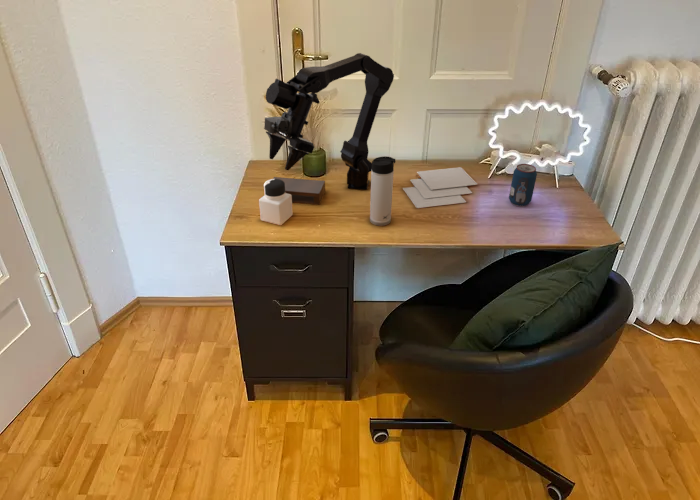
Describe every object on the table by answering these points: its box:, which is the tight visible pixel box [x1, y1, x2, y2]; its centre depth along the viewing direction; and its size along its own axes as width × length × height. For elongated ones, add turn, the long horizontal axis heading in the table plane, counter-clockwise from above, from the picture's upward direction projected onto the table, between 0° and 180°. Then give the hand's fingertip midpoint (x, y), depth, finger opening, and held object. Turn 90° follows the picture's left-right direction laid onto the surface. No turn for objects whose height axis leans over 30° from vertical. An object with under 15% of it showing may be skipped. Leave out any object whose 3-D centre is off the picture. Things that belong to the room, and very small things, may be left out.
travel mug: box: [369, 155, 396, 227], centre depth 156 cm, size 6×7×20 cm
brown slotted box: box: [272, 176, 326, 206], centre depth 173 cm, size 17×9×4 cm, turn 81°
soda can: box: [508, 163, 538, 208], centre depth 168 cm, size 7×7×12 cm
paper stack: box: [402, 166, 479, 209], centre depth 179 cm, size 23×25×1 cm
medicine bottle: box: [258, 178, 294, 226], centre depth 159 cm, size 7×7×12 cm
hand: (278, 164), depth 158 cm, fingers open, 9 cm apart
